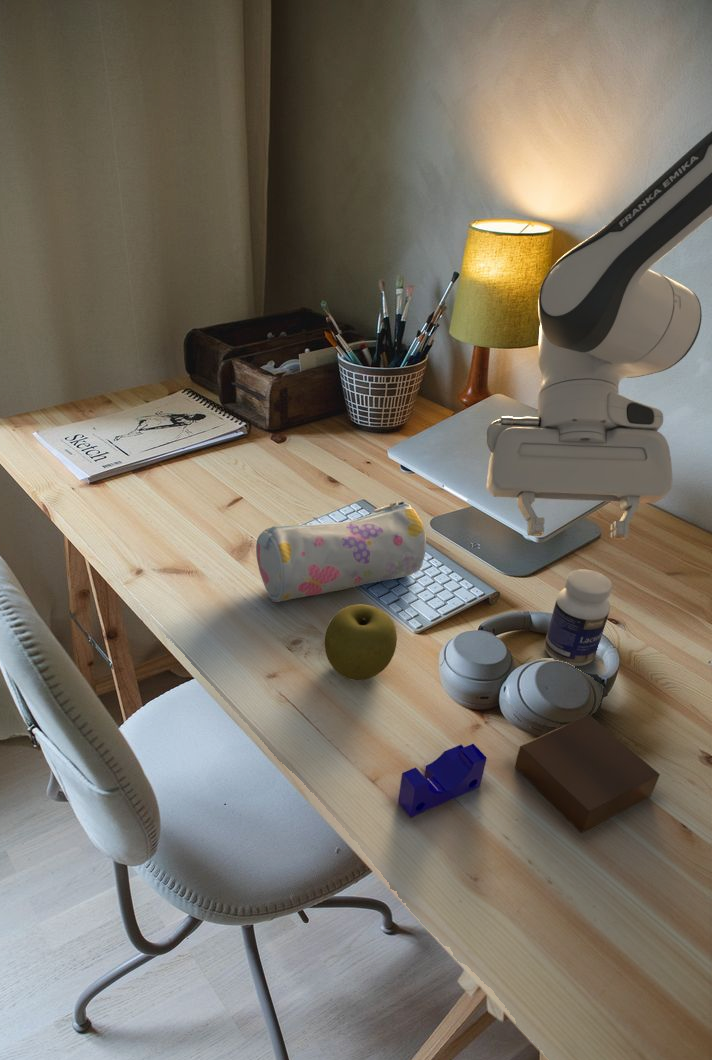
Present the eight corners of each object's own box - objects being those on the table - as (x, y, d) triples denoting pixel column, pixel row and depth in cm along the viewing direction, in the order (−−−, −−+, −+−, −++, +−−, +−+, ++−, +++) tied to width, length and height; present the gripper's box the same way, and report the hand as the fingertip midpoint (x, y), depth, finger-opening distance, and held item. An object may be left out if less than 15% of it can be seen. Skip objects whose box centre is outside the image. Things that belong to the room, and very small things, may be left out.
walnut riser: (581, 735, 84) (588, 714, 82) (651, 795, 78) (660, 774, 76) (514, 767, 80) (519, 745, 78) (581, 833, 74) (589, 811, 72)
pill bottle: (580, 675, 91) (602, 602, 85) (534, 652, 94) (552, 580, 88) (603, 651, 95) (626, 580, 88) (558, 630, 98) (577, 559, 92)
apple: (407, 668, 91) (414, 617, 87) (359, 703, 87) (364, 651, 82) (356, 637, 96) (360, 587, 91) (308, 669, 91) (310, 617, 87)
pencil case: (396, 549, 111) (403, 486, 105) (429, 584, 105) (438, 519, 99) (250, 582, 104) (249, 517, 98) (276, 621, 98) (276, 554, 92)
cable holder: (457, 762, 80) (463, 733, 78) (480, 786, 78) (486, 757, 76) (389, 791, 77) (392, 761, 75) (410, 817, 75) (414, 788, 72)
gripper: (493, 405, 92) (491, 526, 90) (677, 412, 92) (679, 533, 90) (481, 425, 98) (479, 539, 96) (654, 432, 98) (655, 546, 96)
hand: (577, 536), depth 93 cm, fingers open, 8 cm apart
